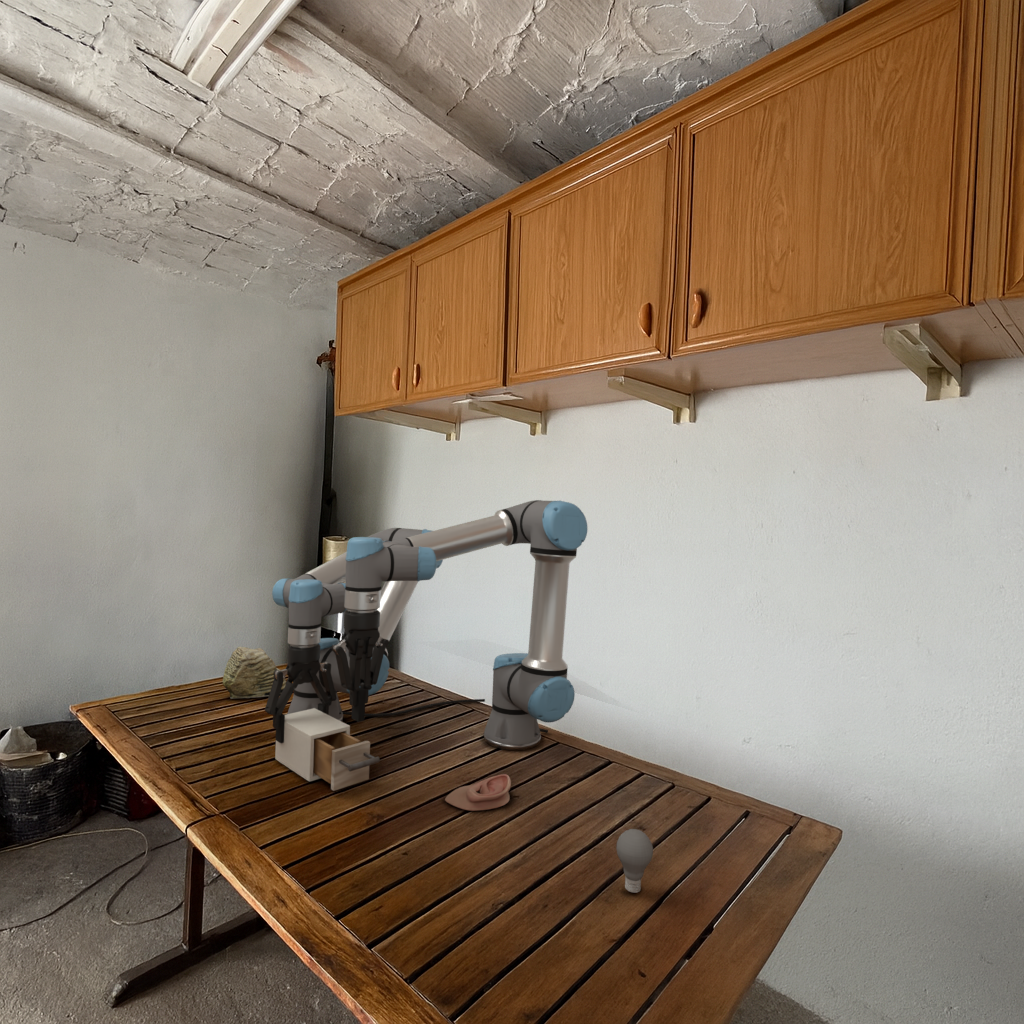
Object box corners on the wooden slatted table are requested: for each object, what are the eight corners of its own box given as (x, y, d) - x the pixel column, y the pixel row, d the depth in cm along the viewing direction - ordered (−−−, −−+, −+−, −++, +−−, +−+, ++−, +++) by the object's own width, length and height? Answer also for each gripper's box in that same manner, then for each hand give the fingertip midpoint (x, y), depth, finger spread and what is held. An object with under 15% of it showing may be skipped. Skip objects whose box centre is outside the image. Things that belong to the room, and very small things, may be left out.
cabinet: (348, 769, 147) (350, 725, 147) (309, 782, 140) (310, 735, 140) (313, 748, 159) (314, 708, 159) (275, 759, 152) (276, 716, 151)
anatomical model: (441, 787, 131) (457, 765, 142) (440, 806, 131) (456, 783, 143) (503, 796, 129) (514, 773, 140) (502, 816, 129) (513, 791, 140)
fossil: (218, 695, 195) (220, 647, 195) (278, 685, 208) (279, 640, 207) (228, 703, 189) (230, 653, 188) (289, 692, 201) (290, 645, 201)
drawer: (382, 787, 136) (383, 748, 136) (346, 799, 130) (347, 759, 130) (332, 758, 151) (333, 723, 151) (298, 768, 145) (299, 731, 145)
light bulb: (610, 879, 108) (613, 822, 108) (644, 879, 109) (647, 822, 109) (619, 902, 102) (622, 840, 102) (655, 901, 103) (658, 840, 103)
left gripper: (265, 654, 142) (261, 752, 142) (353, 641, 158) (350, 729, 158) (251, 647, 147) (247, 742, 148) (337, 635, 163) (334, 721, 164)
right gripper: (344, 615, 128) (339, 731, 128) (397, 609, 137) (393, 717, 138) (325, 609, 133) (321, 721, 133) (378, 604, 142) (374, 708, 143)
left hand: (300, 735), depth 153 cm, fingers closed on cabinet, 10 cm apart
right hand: (358, 719), depth 135 cm, fingers closed
